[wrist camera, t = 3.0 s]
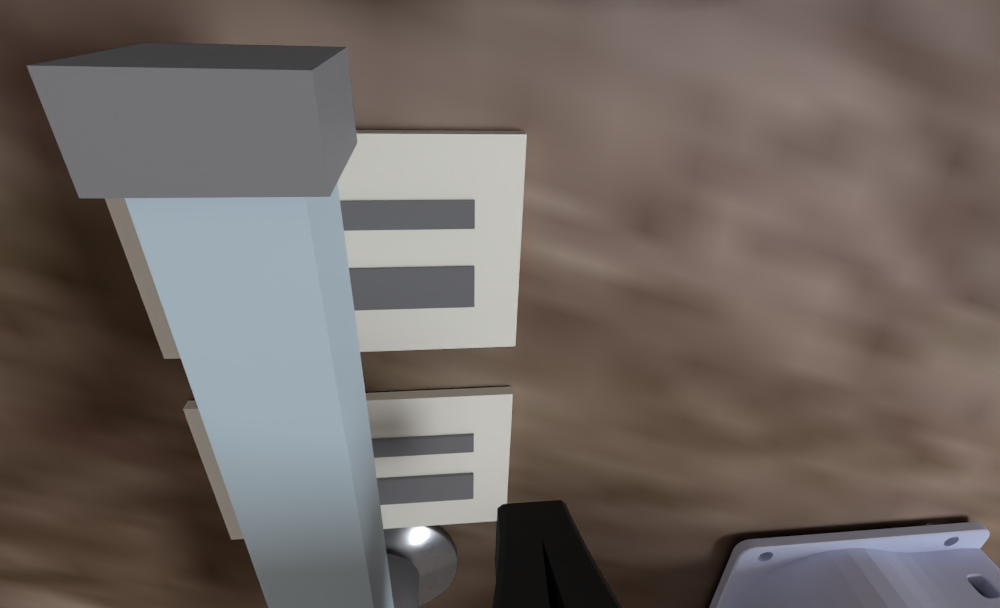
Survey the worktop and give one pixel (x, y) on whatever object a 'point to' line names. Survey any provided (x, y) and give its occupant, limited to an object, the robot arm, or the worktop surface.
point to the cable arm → (249, 285)
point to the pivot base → (425, 556)
